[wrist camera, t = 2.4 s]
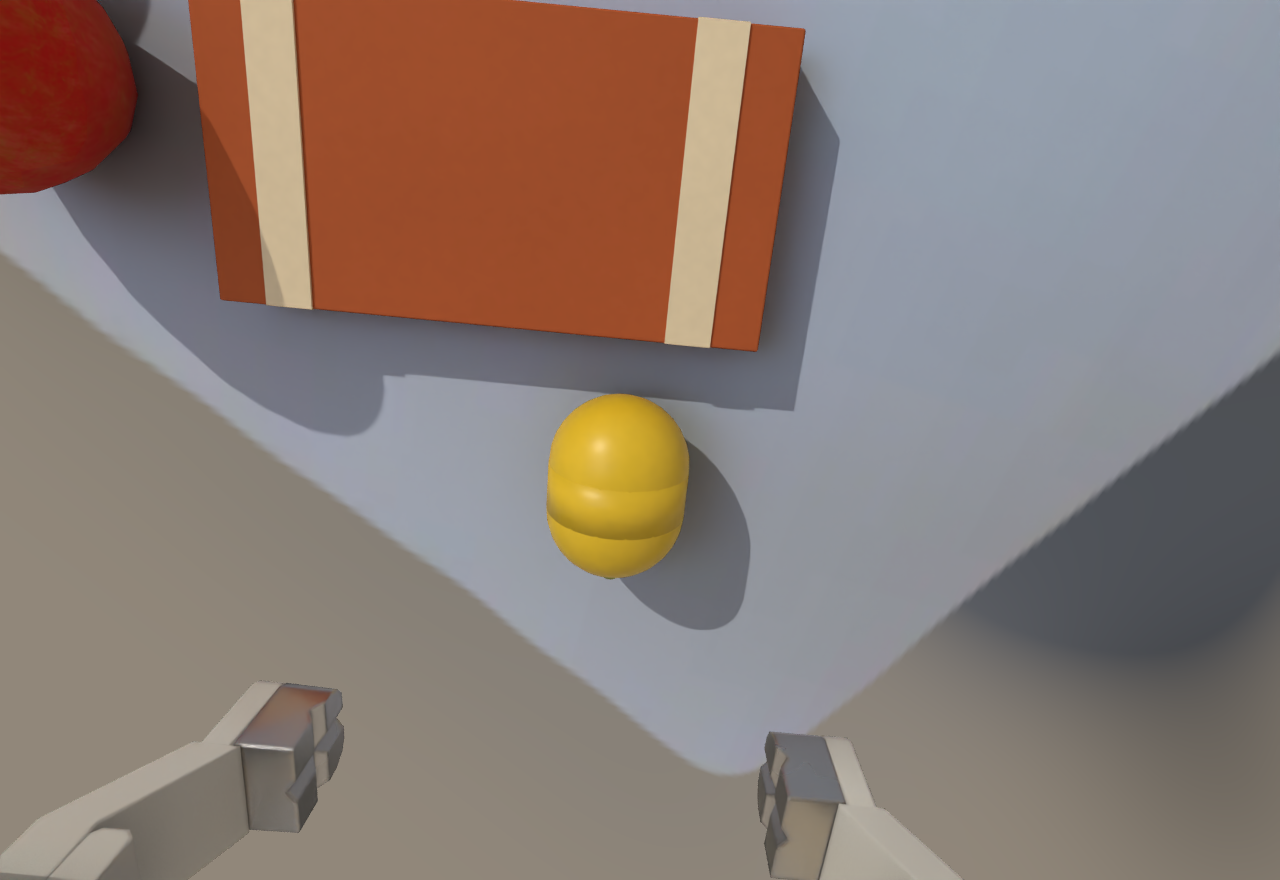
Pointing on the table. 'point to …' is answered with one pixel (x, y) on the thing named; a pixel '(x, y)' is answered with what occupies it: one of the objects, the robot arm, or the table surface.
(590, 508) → the lemon
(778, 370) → the table surface
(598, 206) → the tea towel
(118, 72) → the apple
